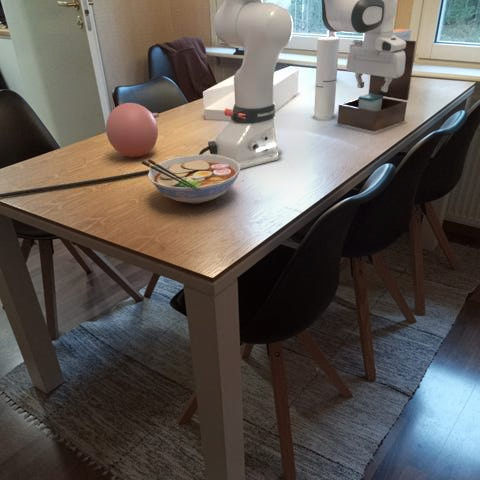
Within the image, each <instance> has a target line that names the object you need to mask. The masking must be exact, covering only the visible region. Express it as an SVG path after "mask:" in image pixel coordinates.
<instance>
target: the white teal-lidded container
mask: <svg viewBox="0 0 480 480" xmlns="http://www.w3.org/2000/svg"><path fill="white" fill-rule="evenodd" d="M358 98H359V105H358V108H362V109H367V110H372V111H379V110H381V105H382V98H384V96H383V95H378V94H372V93H369V92H368V93H367V94H364V95H360V96H358Z"/></svg>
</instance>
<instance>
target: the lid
mask: <svg viewBox="0 0 480 480" xmlns="http://www.w3.org/2000/svg"><path fill="white" fill-rule="evenodd" d="M404 41H405V42H406V47H405V49H402V50H403V51H404V52H405V56H406V58H405V70H404V74H403V75H402V76H401V77H399V78H392V81H391V83H390V84H389V86H388V91H387V92H381V86H383V85H384V84H385V82H386V81H385V77H382V76H375V75H369V85H368V94H369V93H372V94H378V95H383V98H388V99H394V100H400V101H405V102H408V101H409V98H410V89H411V81H412V74H413V68H414V60H415V53H416V45H417V41H416V40H410V41H409V40H404Z"/></svg>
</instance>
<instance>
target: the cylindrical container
mask: <svg viewBox="0 0 480 480" xmlns="http://www.w3.org/2000/svg"><path fill="white" fill-rule="evenodd" d="M339 49H340V37H338V36H337V37H327V36H324V37H318V38H317V45H316V63H315V64H316V67H315V85H314V86H315V87H314V88H315V89H314V113H313V116H314V117H315V118H320V119H328V118H332V117H334V116H335V107H336V106H335V105H336V93H337V77H338V65H339V64H338V62H339V52H340V51H339Z"/></svg>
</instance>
